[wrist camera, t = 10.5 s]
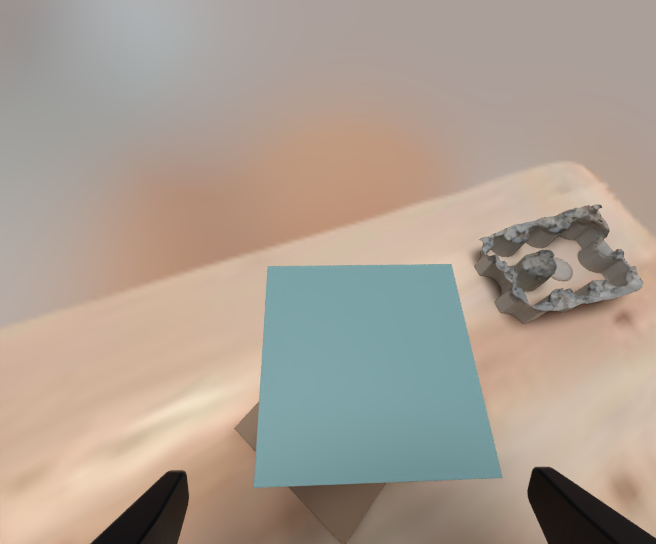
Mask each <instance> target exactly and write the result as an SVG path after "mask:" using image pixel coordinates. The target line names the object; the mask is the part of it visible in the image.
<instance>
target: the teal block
mask: <svg viewBox="0 0 656 544" xmlns="http://www.w3.org/2000/svg"><path fill="white" fill-rule="evenodd" d="M487 478H502V474H501V470H500V465H499V461H498V457H497V453H496V449H495V445H494V440H493V436H492V432H491V428H490V424H489V420H488V415H487V411H486V407H485V403H484V399H483V394H482V390H481V386H480V382H479V378H478V374H477V369H476V365H475V361H474V357H473V353H472V349H471V344H470V340H469V336H468V332H467V328H466V323H465V319H464V315H463V311H462V307H461V303H460V298H459V294H458V290H457V286H456V282H455V278H454V273H453V269H452V265H451V264H428V265H346V266H268V270H267V285H266V301H265V317H264V333H263V349H262V365H261V381H260V397H259V413H258V429H257V444H256V460H255V476H254V488H260V487H285V486H310V485H336V484H361V483H386V482H411V481H437V480H462V479H487Z"/></svg>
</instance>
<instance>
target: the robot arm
mask: <svg viewBox="0 0 656 544" xmlns="http://www.w3.org/2000/svg"><path fill="white" fill-rule="evenodd" d="M527 492H528V499H529V502H530V504H531V507H532V509H533V511H534V513H535V515H536V518H537V520H538V522H539V524H540V527H541V529H542V531H543V533H544V535H545V538H546V540H547V542H548V544H656V538H655V537H653V536H652V535H650V534H649V533H647V532H646V531H644V530H643V529H641V528H640V527H638V526H637V525H635V524H634V523H633V522H631V521H630V520H628V519H627V518H625V517H624V516H622V515H621V514H619V513H618V512H616V511H615V510H613V509H612V508H610V507H609V506H608V505H606V504H605V503H603V502H602V501H600V500H599V499H597V498H596V497H594V496H593V495H591V494H590V493H588V492H587V491H585V490H584V489H582V488H581V487H580V486H578V485H577V484H575V483H574V482H572V481H571V480H569V479H568V478H566V477H565V476H563V475H562V474H560V473H559V472H557V471H556V470H555V469H553V468H551V467H535V468H534V469H533V470H532V473H531V478H530V482H529V486H528V491H527ZM188 501H189V492H188V483H187V475H186V472H185V471H183V470H171V471H168V472H166V473H165V474H164V475H163V476H162V477H161V478H160V479H159V480H158V481H157V482H156V483H155V484H154V485H152V486H151V487H150V488H149V489H148V490H147V491H146V492H145V493H144V494H143V495H142V496H141V497H140V498H139V499H138V500H136V501H135V502H134V503H133V504H132V505H131V506H130V507H129V508H128V509H127V510H126V511H125V512H124V513H123V514H122V515H120V516H119V517H118V518H117V519H116V520H115V521H114V522H113V523H112V524H111V525H110V526H109V527H108V528H107V529H106V530H104V531H103V532H102V533H101V534H100V535H99V536H98V537H97V538H96V539H95V540H94V541H93V542H92V543H91V544H177V543H178V539H179V536H180V532H181V529H182V525H183V521H184V518H185V514H186V510H187V507H188Z"/></svg>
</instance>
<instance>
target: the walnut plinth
mask: <svg viewBox="0 0 656 544" xmlns="http://www.w3.org/2000/svg"><path fill="white" fill-rule="evenodd" d="M258 413H259V402H258V403H257V404H256V405H255V406H254V407H253V409H252V410H251V411H250V412H249V413H248V414H247V415H246V416H245V417H244V418H243V419H242V420H241V422H240V423H239V424H238V425H237V426H236V427H235V428H234V429H235V430H236V431H237V432H238V433H239V434H240V435H241V436H242V437H243V438H244V440H245V441H246V442H247V443H248V444H249V445H250V446H251V447H252V448H253V449H254V450H255V451H256V444H257V429H258ZM385 484H386V483H361V484H336V485H310V486H288V487H289V488H290V489H291V490H292V491H293V492H294V493H295V495H296V496H297V497H298V498H299V499H300V500H301V501H302V502H303V503H304V504H305V505H306V506H307V507H308V509H309V510H310V511H311V512H312V513H313V514H314V515H315V516H316V517H317V518H318V519H319V520H320V521H321V523H322V524H323V525H324V526H325V527H326V528H327V529H328V530H329V531H330V532H331V533H332V534H333V535H334V537H335V538H336V539H337V540H338V541H339V542H340V543H341V544H346V543H347V541H348V540H349V538H350V537H351V535H352V534H353V532H354V530H355V529H356V527H357V526H358V524H359V523H360V521H361V520H362V518H363V517H364V515H365V514H366V512H367V511H368V509H369V508H370V506H371V505H372V503H373V502H374V500H375V499H376V497H377V496H378V494H379V493H380V491H381V490H382V488H383V487H384V485H385Z"/></svg>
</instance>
